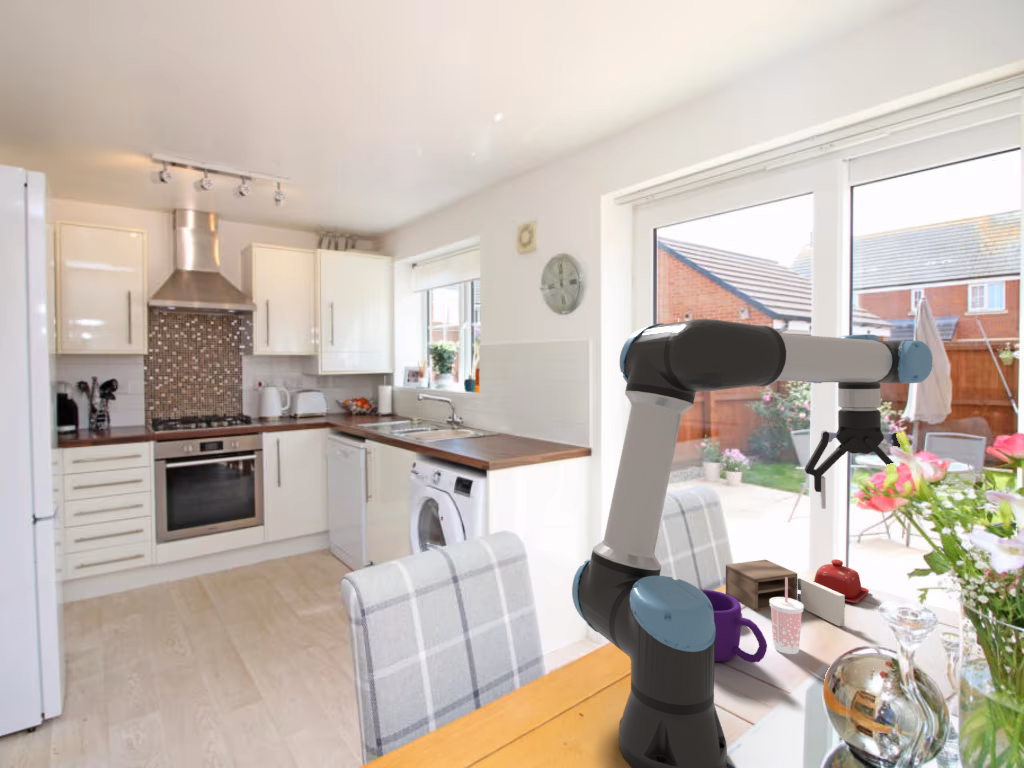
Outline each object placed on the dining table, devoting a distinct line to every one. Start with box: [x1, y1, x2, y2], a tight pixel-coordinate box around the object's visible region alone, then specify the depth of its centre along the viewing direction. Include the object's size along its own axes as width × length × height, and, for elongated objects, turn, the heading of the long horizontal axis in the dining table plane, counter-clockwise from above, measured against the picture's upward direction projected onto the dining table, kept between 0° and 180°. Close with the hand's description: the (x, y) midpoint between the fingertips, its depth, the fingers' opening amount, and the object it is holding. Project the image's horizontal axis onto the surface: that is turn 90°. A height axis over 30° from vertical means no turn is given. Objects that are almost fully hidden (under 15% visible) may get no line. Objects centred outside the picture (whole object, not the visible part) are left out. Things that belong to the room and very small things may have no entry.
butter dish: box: [812, 559, 869, 604], centre depth 136 cm, size 12×12×8 cm
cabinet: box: [725, 559, 798, 612], centre depth 132 cm, size 10×12×8 cm
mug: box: [700, 589, 768, 664], centre depth 106 cm, size 17×11×10 cm, turn 35°
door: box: [797, 577, 846, 627], centre depth 123 cm, size 12×3×6 cm, turn 17°
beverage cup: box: [769, 577, 804, 655], centre depth 109 cm, size 6×6×14 cm
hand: (859, 509), depth 116 cm, fingers open, 13 cm apart
